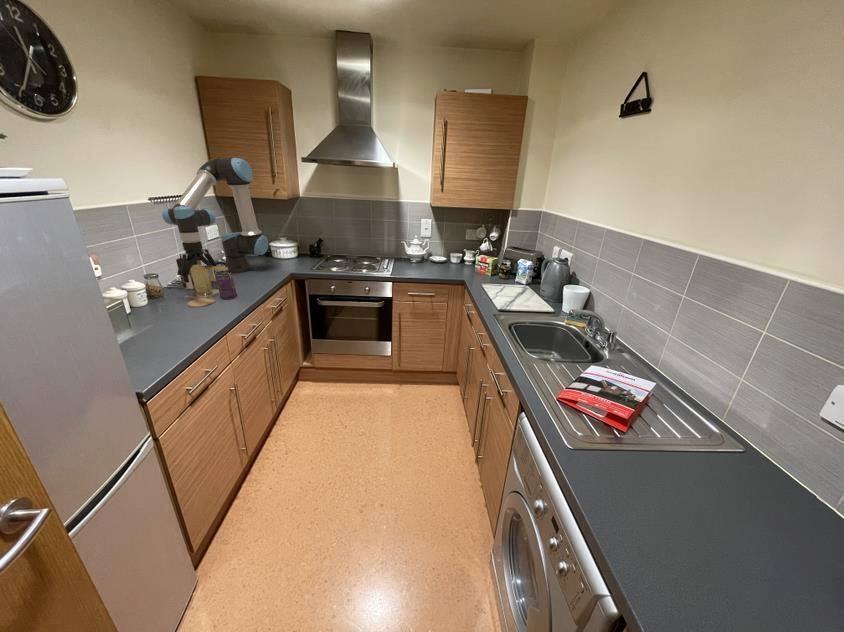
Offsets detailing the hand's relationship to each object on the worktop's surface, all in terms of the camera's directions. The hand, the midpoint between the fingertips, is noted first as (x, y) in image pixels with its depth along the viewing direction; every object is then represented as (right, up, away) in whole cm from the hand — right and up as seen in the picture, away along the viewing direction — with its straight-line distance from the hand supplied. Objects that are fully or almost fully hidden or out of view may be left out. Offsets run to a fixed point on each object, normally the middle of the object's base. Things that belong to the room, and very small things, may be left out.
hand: (202, 284), depth 159 cm
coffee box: (-12, -1, +12) cm, 17 cm away
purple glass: (+14, -7, 0) cm, 15 cm away
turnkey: (+6, -4, 0) cm, 7 cm away
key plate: (0, -5, +2) cm, 6 cm away
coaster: (+5, -10, -8) cm, 14 cm away
